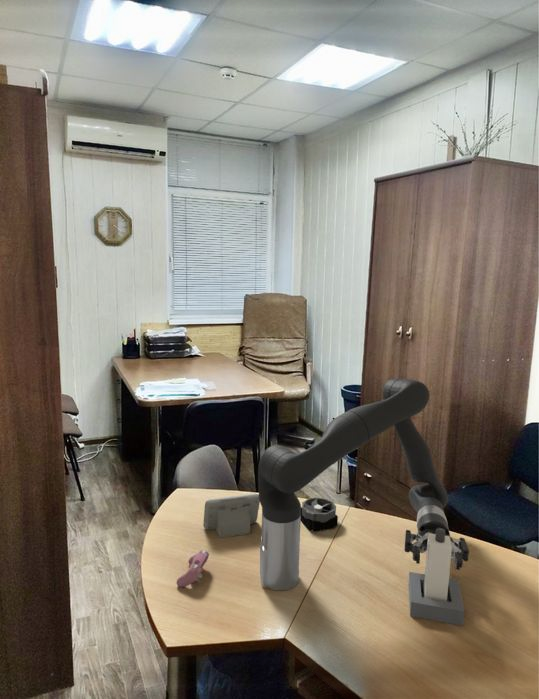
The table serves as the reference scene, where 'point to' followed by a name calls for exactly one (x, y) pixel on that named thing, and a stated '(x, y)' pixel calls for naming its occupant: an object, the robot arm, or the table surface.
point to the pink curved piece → (193, 569)
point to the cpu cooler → (318, 514)
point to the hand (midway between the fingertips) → (438, 563)
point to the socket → (435, 602)
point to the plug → (437, 566)
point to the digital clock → (231, 514)
